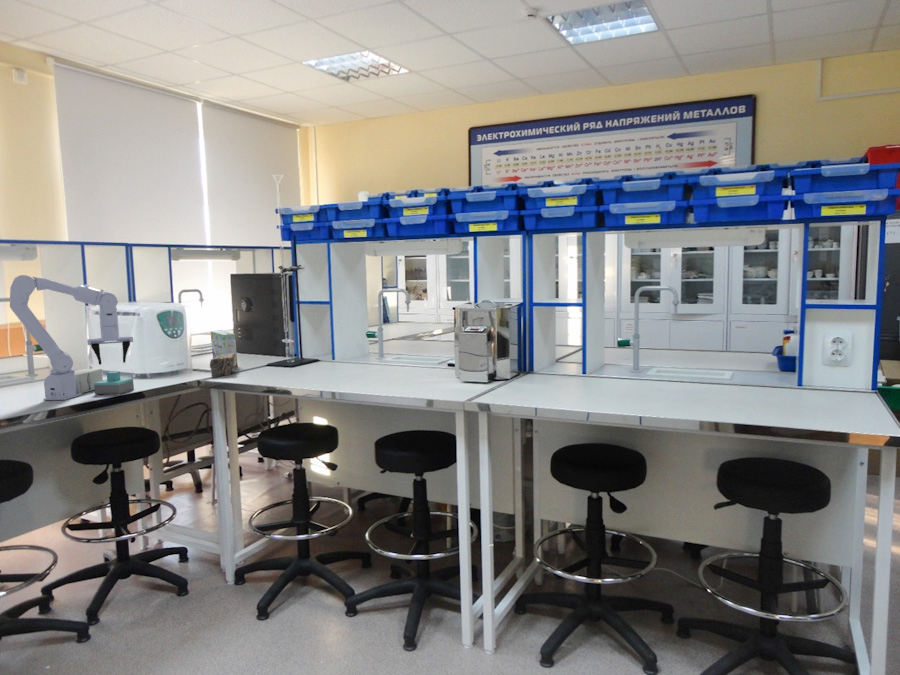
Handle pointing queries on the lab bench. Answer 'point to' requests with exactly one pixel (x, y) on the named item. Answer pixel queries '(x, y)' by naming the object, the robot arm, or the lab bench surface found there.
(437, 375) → the lab bench surface
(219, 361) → the stone block
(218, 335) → the snack box
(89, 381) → the supplement box
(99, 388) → the box
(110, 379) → the lid
